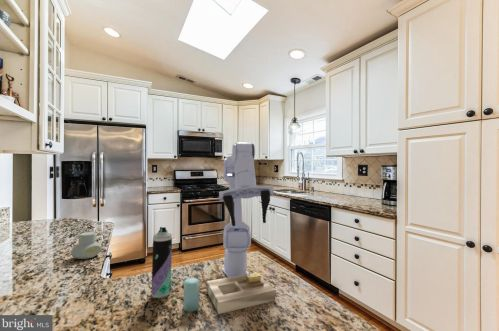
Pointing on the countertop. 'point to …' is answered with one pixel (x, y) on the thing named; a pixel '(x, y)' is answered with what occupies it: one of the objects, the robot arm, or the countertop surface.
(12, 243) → the countertop surface
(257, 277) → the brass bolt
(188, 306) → the teal peg
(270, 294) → the dock plate
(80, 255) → the air freshener
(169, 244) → the spray can
